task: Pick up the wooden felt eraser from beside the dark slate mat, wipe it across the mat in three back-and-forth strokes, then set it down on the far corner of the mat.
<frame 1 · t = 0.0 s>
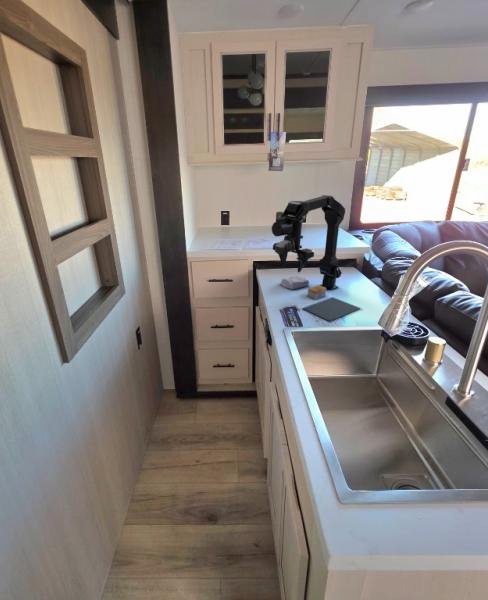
hand: (290, 269, 135), 15 cm above the counter, tool pointing down, fingers open, 9 cm apart
slate mat: (331, 309, 133), on the counter
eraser: (316, 296, 146), on the counter
stone block: (293, 285, 159), on the counter
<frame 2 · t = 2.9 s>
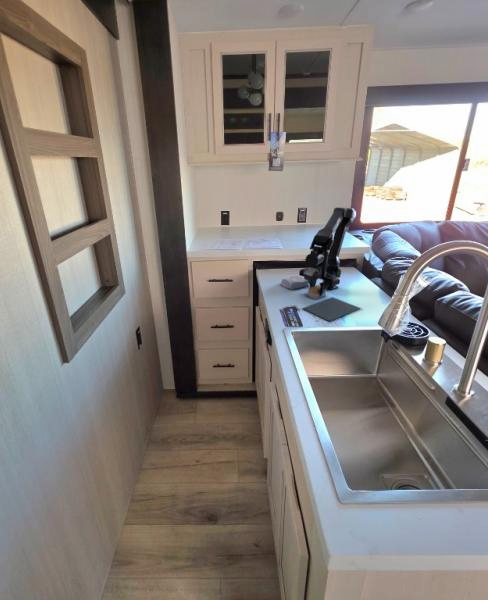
hand: (316, 294, 146), 1 cm above the counter, tool pointing down, fingers closed on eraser, 4 cm apart
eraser: (316, 296, 146), on the counter, touching gripper
everything else where it was.
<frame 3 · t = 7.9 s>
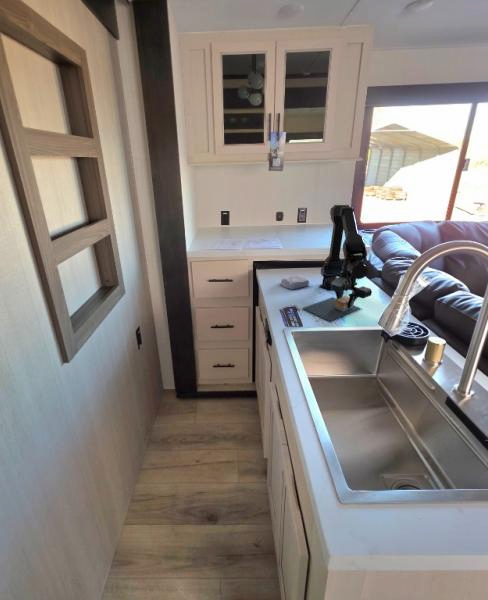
hand: (344, 305, 133), 1 cm above the counter, tool pointing down, fingers closed on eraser, 4 cm apart
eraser: (343, 307, 133), resting on slate mat, touching gripper
everything else where it was.
when the fingers open (1 cm above the counter, at t = 13.1 s): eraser stays where it is, resting on slate mat.
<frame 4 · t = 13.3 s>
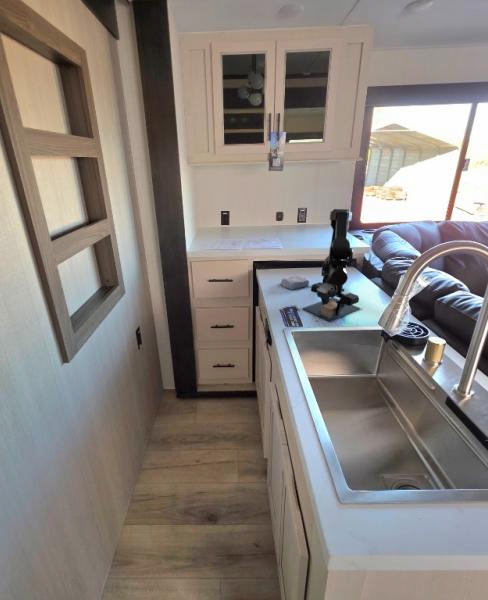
hand: (331, 312, 127), 1 cm above the counter, tool pointing down, fingers open, 5 cm apart
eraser: (330, 314, 128), resting on slate mat
everything else where it was.
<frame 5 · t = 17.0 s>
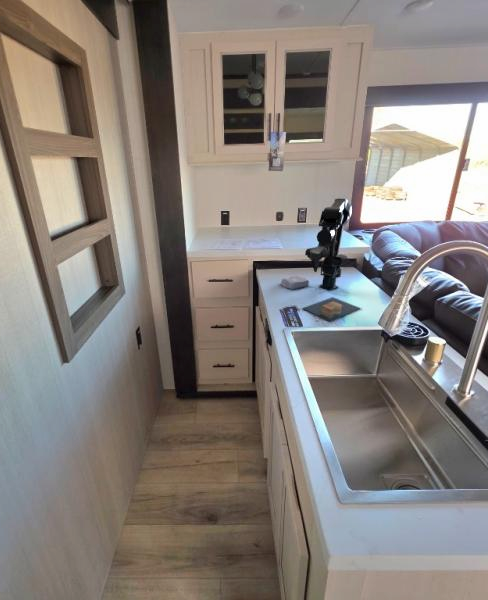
hand: (323, 274, 137), 12 cm above the counter, tool pointing down, fingers open, 9 cm apart
nothing on the counter moved.
at the end: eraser inside the target area (0.4 cm from its centre), resting on slate mat; the gripper is holding nothing; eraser tilted 0° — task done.
